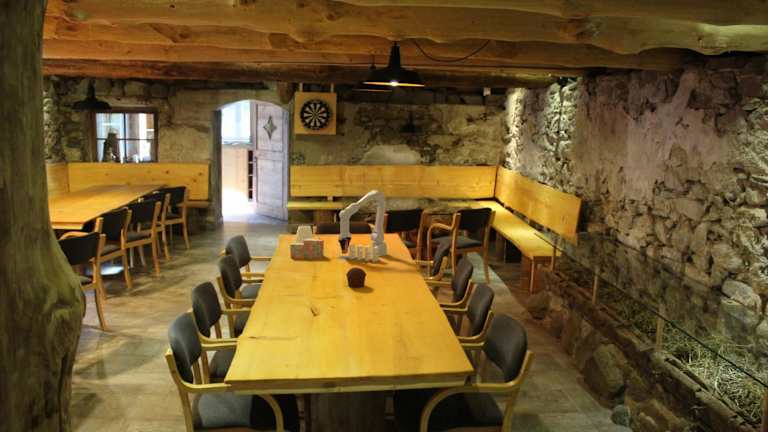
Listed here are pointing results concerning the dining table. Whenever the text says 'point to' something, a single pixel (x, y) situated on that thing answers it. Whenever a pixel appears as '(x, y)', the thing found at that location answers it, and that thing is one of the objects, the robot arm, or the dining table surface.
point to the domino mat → (355, 259)
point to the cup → (303, 234)
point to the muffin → (356, 278)
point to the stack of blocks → (308, 249)
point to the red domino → (345, 248)
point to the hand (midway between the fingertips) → (344, 248)
